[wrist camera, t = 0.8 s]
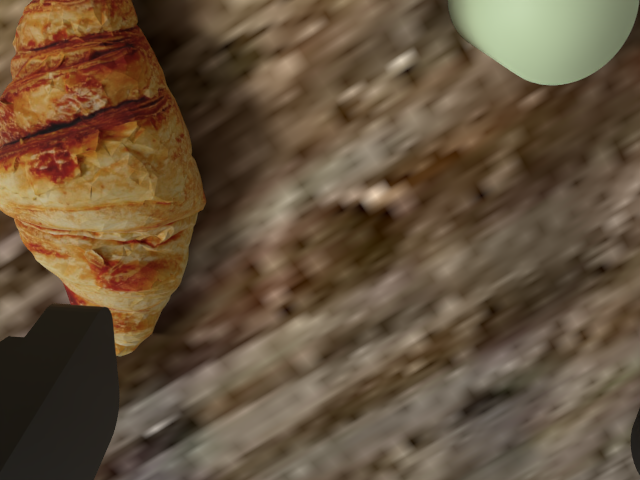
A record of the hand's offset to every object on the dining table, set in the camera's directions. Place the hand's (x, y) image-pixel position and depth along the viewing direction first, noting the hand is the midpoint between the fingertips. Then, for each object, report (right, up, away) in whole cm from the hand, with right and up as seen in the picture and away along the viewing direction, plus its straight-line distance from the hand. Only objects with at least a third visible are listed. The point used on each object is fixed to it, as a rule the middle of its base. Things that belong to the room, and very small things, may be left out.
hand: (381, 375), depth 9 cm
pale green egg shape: (+7, +13, +19) cm, 24 cm away
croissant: (-12, +6, +23) cm, 26 cm away
